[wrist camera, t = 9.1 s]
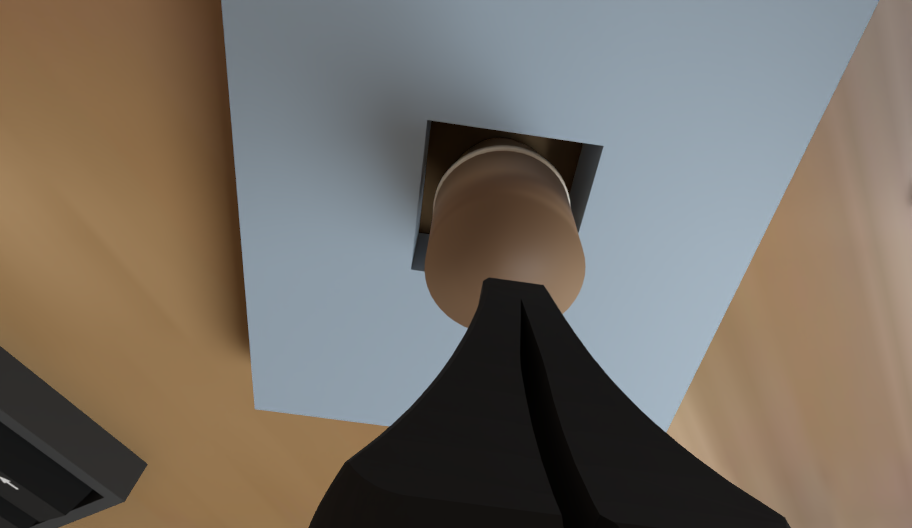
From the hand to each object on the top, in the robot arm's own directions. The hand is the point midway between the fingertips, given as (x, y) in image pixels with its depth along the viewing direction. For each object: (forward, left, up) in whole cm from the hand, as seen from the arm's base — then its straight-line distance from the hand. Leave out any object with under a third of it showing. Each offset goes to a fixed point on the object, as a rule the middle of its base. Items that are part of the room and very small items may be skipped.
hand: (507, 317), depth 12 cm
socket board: (0, 0, -8) cm, 8 cm away
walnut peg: (0, 0, -8) cm, 8 cm away
